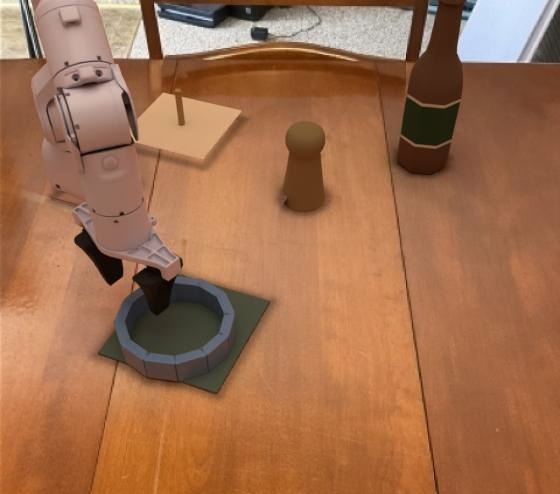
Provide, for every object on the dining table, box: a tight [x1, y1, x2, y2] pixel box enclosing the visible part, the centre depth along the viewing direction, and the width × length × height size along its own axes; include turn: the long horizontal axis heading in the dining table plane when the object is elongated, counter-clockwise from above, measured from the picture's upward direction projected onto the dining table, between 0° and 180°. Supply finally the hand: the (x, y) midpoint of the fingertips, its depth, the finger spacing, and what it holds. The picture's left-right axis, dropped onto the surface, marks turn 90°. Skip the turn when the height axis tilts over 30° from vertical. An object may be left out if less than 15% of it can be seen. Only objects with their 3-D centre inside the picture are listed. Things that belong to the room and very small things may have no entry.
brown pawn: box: [282, 120, 326, 213], centre depth 91 cm, size 6×6×11 cm
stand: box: [129, 87, 243, 160], centre depth 102 cm, size 14×14×7 cm
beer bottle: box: [396, 0, 468, 175], centre depth 91 cm, size 8×8×24 cm
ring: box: [113, 276, 236, 382], centre depth 78 cm, size 13×13×3 cm
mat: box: [97, 273, 271, 395], centre depth 80 cm, size 15×15×1 cm
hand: (137, 294), depth 79 cm, fingers open, 7 cm apart
